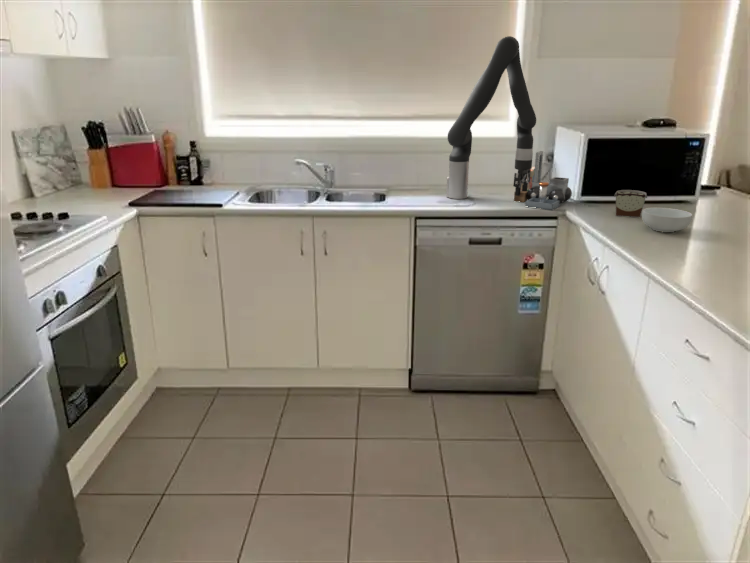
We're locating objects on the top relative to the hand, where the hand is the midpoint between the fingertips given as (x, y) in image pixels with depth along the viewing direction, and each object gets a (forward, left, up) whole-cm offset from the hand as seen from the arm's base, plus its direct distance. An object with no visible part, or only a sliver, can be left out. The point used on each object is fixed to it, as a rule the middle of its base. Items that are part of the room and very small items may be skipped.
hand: (521, 194), depth 266 cm
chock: (0, 0, -3) cm, 3 cm away
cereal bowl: (+64, -21, -4) cm, 68 cm away
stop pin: (+12, -6, -3) cm, 14 cm away
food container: (+47, -3, -4) cm, 48 cm away
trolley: (+11, +5, -3) cm, 13 cm away
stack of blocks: (-6, +24, -4) cm, 25 cm away
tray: (+12, -6, -3) cm, 14 cm away
